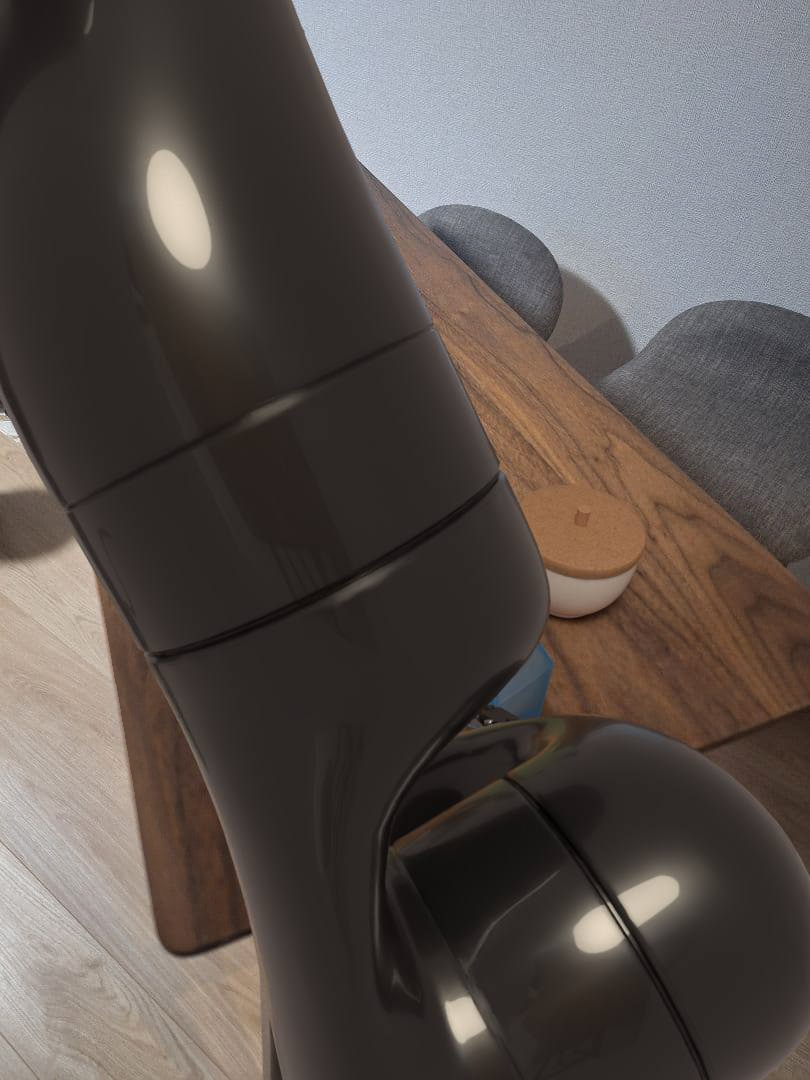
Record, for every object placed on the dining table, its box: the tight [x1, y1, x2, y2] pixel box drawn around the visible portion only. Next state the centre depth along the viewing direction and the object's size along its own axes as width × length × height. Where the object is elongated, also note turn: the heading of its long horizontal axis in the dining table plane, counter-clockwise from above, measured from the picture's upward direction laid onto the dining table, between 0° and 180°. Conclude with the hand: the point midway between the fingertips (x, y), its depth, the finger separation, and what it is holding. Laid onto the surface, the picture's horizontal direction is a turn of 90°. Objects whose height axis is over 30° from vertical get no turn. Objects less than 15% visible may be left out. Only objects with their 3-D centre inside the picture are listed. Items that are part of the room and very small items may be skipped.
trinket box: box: [519, 484, 647, 619], centre depth 76 cm, size 11×11×9 cm
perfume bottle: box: [476, 641, 555, 719], centre depth 64 cm, size 6×6×12 cm
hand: (352, 729), depth 50 cm, fingers open, 8 cm apart
